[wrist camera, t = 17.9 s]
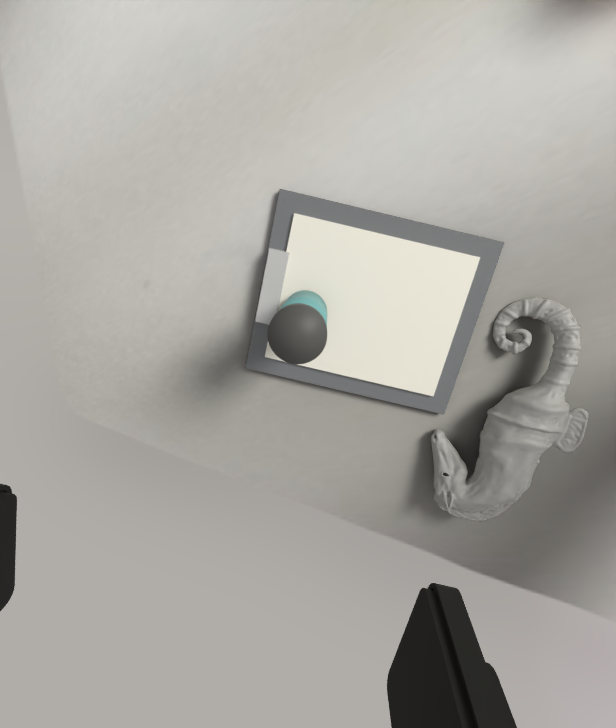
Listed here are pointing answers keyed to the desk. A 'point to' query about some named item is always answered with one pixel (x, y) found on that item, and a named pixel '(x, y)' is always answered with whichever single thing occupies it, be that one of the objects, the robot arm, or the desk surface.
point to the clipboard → (375, 299)
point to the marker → (299, 328)
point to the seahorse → (515, 423)
